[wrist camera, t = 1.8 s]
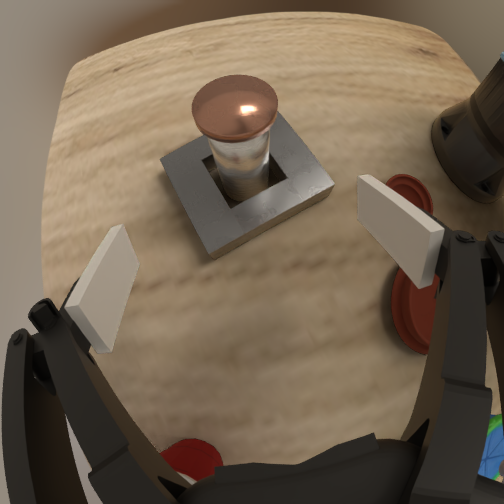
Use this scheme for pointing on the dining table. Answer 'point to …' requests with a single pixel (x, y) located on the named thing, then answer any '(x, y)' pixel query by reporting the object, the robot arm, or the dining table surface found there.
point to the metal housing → (255, 208)
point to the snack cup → (493, 449)
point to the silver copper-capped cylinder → (238, 131)
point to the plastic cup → (192, 459)
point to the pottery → (404, 290)
